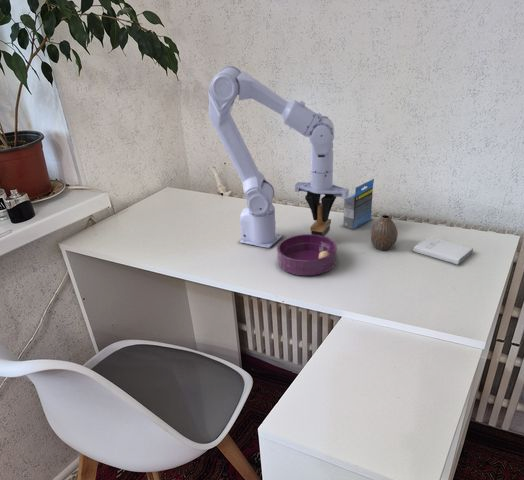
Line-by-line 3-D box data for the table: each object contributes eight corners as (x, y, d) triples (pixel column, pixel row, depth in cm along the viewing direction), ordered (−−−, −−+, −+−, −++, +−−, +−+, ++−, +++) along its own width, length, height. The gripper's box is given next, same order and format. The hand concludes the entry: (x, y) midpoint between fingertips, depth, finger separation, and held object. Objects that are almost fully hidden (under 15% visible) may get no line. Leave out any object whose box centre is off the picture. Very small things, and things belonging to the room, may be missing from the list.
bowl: (267, 270, 131) (266, 254, 128) (293, 245, 141) (293, 230, 138) (321, 282, 124) (321, 266, 121) (345, 255, 134) (346, 240, 132)
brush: (310, 237, 139) (310, 208, 134) (318, 228, 144) (319, 199, 138) (322, 239, 138) (323, 209, 133) (330, 229, 142) (331, 200, 137)
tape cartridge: (360, 216, 153) (363, 175, 146) (371, 219, 151) (374, 178, 144) (342, 226, 149) (344, 184, 141) (353, 229, 146) (355, 187, 139)
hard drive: (457, 265, 127) (412, 252, 134) (472, 253, 131) (428, 240, 138) (458, 259, 126) (413, 246, 133) (473, 247, 130) (429, 235, 137)
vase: (396, 253, 134) (399, 222, 128) (369, 252, 135) (371, 221, 130) (396, 242, 139) (399, 211, 133) (370, 241, 140) (372, 210, 135)
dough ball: (320, 251, 128) (330, 258, 128) (323, 246, 130) (333, 253, 130) (315, 260, 130) (324, 267, 130) (318, 255, 132) (327, 261, 132)
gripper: (354, 167, 129) (351, 218, 138) (302, 161, 136) (303, 210, 144) (343, 176, 125) (341, 228, 133) (290, 170, 131) (292, 220, 139)
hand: (320, 219), depth 138 cm, fingers closed on brush, 2 cm apart
